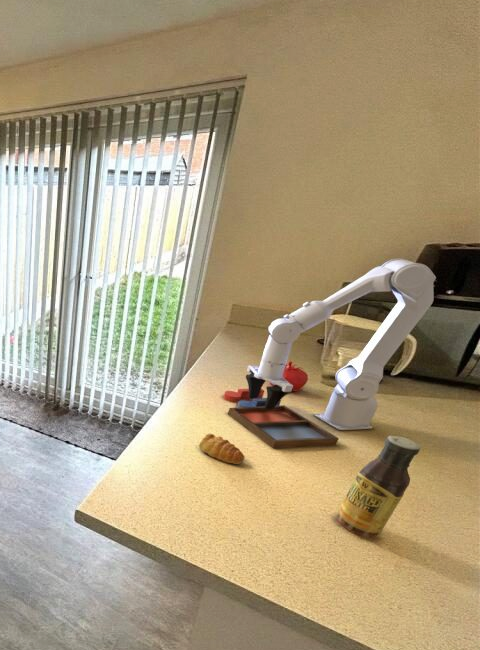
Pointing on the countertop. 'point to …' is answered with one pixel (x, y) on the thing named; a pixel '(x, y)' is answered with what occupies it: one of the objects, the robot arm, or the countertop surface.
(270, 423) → the sorting tray
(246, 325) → the countertop surface
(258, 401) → the blue spoon
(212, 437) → the pastry
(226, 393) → the red spoon
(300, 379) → the pomegranate
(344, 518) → the sauce bottle
